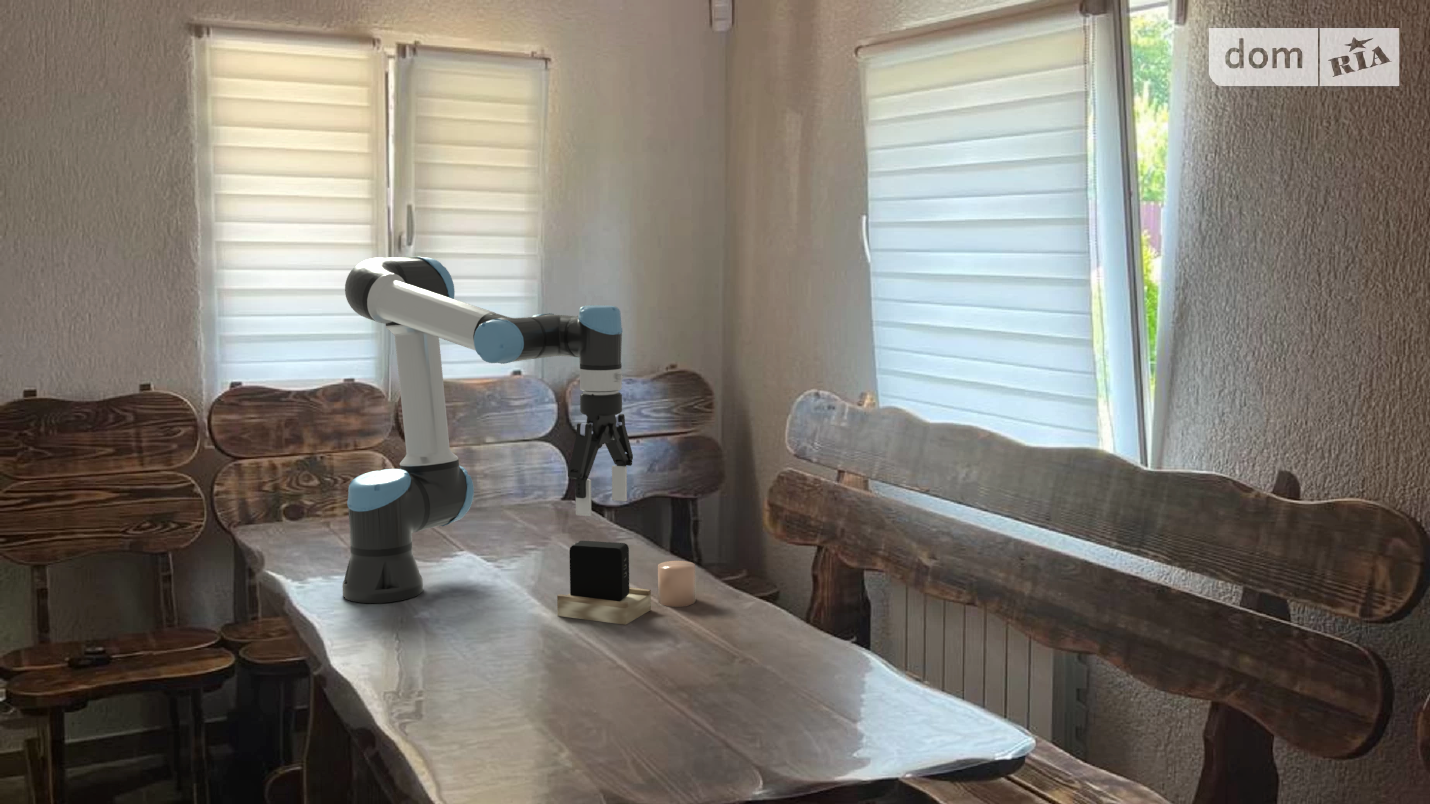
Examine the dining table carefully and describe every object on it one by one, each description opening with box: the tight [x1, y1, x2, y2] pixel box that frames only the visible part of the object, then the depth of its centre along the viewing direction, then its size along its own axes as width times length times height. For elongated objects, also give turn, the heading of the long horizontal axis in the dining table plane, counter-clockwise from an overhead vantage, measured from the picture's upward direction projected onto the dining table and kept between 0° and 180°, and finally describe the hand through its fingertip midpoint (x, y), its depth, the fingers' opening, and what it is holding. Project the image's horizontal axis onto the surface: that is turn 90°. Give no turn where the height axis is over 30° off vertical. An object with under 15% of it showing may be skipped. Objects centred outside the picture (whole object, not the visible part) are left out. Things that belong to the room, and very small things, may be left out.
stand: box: [556, 586, 652, 626], centre depth 240 cm, size 14×10×4 cm
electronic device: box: [568, 540, 630, 601], centre depth 238 cm, size 4×10×10 cm, turn 75°
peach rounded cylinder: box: [657, 560, 696, 608], centre depth 247 cm, size 7×7×7 cm
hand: (602, 507), depth 237 cm, fingers open, 13 cm apart
